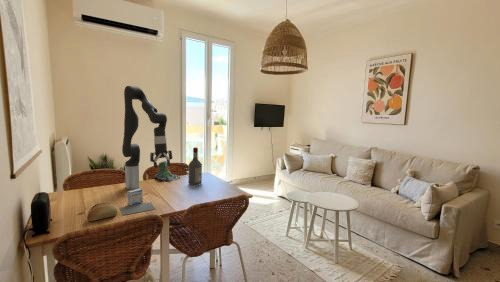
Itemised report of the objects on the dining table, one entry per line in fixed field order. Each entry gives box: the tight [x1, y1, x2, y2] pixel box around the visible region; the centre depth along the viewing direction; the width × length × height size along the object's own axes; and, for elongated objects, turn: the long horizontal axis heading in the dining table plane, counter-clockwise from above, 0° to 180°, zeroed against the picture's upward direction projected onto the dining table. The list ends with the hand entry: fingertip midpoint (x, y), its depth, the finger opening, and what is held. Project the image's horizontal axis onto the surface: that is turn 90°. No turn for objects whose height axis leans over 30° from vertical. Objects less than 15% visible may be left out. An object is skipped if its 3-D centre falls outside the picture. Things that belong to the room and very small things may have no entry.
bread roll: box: [86, 202, 118, 222], centre depth 136 cm, size 10×15×8 cm, turn 140°
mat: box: [119, 201, 157, 216], centre depth 151 cm, size 12×18×1 cm, turn 125°
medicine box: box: [126, 188, 144, 206], centre depth 157 cm, size 8×4×9 cm, turn 148°
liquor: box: [187, 146, 203, 186], centre depth 201 cm, size 9×9×30 cm
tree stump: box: [154, 160, 181, 182], centre depth 214 cm, size 18×20×18 cm
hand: (162, 166), depth 166 cm, fingers open, 8 cm apart
